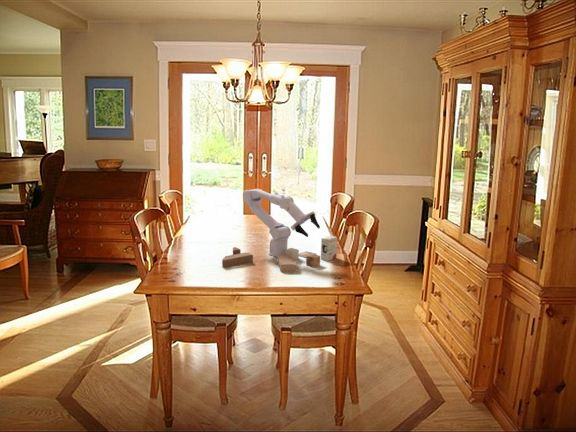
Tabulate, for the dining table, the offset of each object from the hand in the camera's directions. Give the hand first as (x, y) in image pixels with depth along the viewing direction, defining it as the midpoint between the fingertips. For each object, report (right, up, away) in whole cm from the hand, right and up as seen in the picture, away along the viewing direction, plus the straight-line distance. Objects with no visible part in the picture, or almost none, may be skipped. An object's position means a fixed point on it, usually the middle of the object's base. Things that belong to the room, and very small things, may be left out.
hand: (313, 231), depth 250 cm
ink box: (+9, -15, +14) cm, 23 cm away
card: (-3, -13, +20) cm, 24 cm away
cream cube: (-11, -15, +13) cm, 22 cm away
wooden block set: (-42, -16, +5) cm, 46 cm away
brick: (-13, -18, -2) cm, 23 cm away
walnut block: (0, -17, +2) cm, 17 cm away
